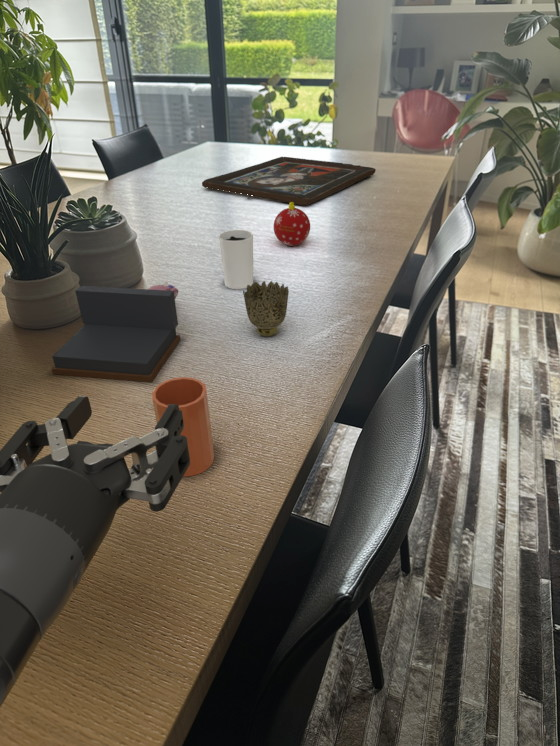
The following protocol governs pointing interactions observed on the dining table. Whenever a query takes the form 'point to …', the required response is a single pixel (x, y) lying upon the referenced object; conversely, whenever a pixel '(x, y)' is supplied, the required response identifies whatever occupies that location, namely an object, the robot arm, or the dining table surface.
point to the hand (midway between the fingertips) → (130, 407)
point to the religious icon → (290, 179)
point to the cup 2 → (266, 306)
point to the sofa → (120, 334)
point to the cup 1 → (189, 418)
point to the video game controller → (165, 288)
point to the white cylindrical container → (237, 258)
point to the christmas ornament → (291, 226)
